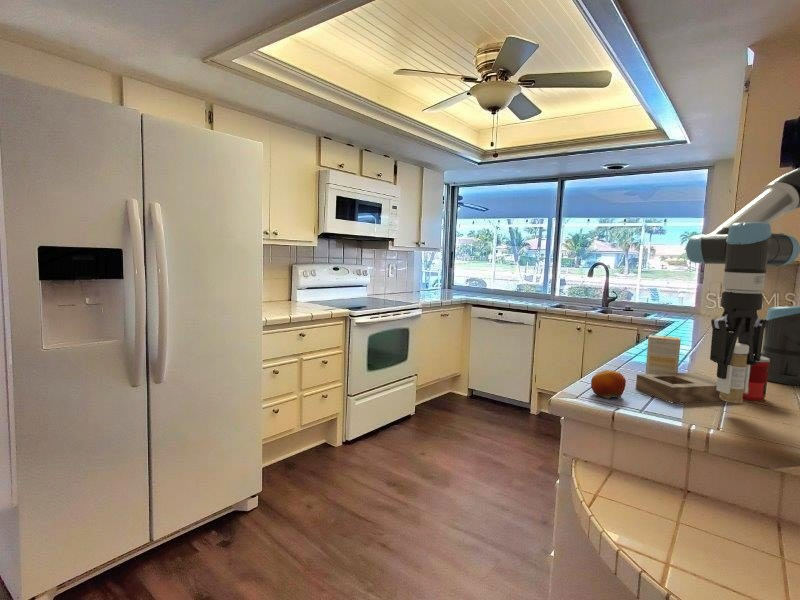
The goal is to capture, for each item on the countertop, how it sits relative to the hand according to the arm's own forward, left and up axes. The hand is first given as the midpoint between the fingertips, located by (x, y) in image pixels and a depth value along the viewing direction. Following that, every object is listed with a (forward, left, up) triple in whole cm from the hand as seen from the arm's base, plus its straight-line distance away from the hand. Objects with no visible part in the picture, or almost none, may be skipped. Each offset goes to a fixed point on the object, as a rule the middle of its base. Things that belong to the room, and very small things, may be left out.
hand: (731, 391), depth 103 cm
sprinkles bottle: (0, 0, -2) cm, 2 cm away
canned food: (-19, -11, -6) cm, 22 cm away
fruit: (+20, -16, -6) cm, 27 cm away
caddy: (-3, -15, -6) cm, 16 cm away
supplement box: (-8, -28, -6) cm, 30 cm away
